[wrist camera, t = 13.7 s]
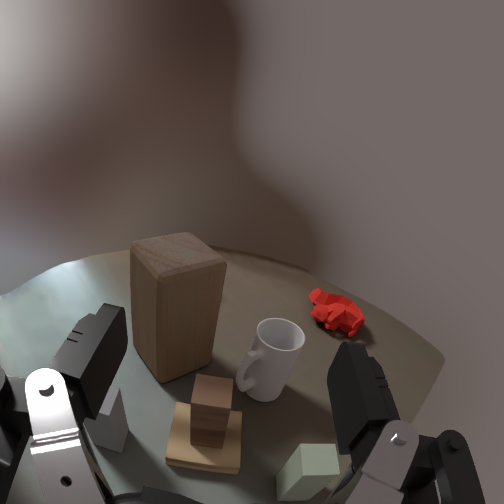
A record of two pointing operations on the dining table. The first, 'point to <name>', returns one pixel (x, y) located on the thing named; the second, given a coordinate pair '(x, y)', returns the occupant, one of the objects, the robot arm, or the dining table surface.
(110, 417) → the grey post
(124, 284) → the dining table surface
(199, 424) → the walnut post
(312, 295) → the animal figurine
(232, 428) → the oak slab
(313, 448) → the sage post
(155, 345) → the wooden block
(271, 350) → the mug
